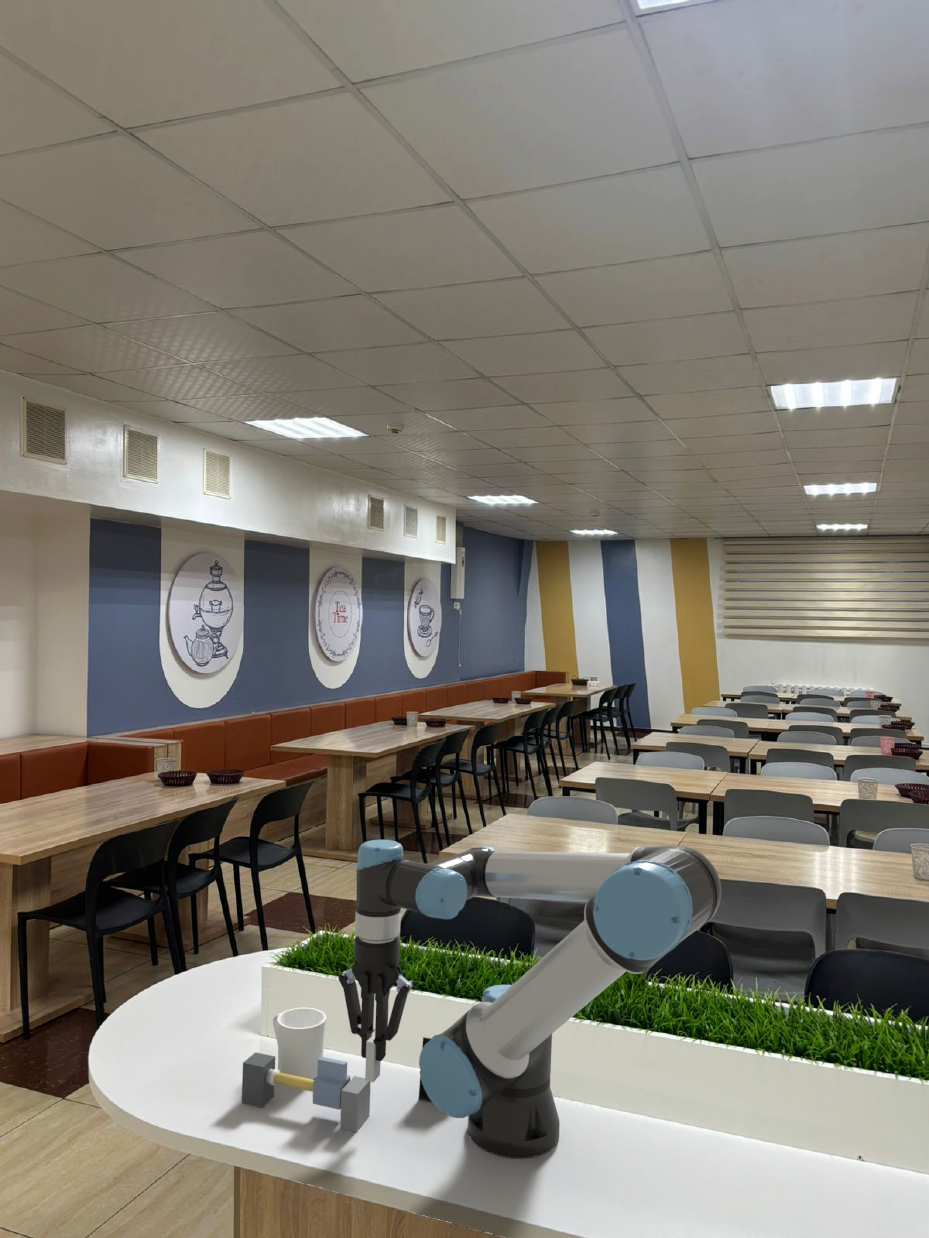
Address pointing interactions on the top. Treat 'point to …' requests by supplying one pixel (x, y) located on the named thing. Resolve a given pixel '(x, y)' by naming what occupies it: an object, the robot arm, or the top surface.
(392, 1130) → the top surface
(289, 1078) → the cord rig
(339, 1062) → the sleeve
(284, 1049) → the mug
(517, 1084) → the robot arm
